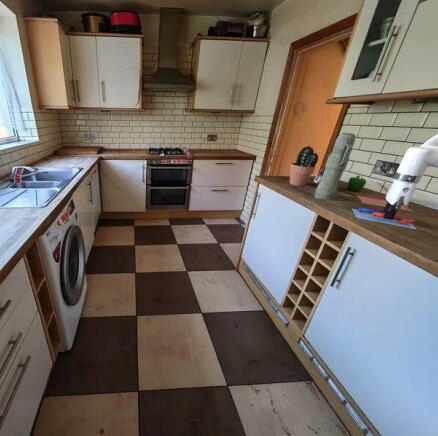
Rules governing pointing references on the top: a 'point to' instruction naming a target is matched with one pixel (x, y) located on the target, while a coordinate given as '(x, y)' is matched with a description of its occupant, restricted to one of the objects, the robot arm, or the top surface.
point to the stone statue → (335, 166)
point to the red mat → (379, 202)
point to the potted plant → (303, 166)
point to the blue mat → (380, 219)
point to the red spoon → (396, 217)
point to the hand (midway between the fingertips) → (386, 217)
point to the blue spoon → (368, 210)
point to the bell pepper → (356, 183)
